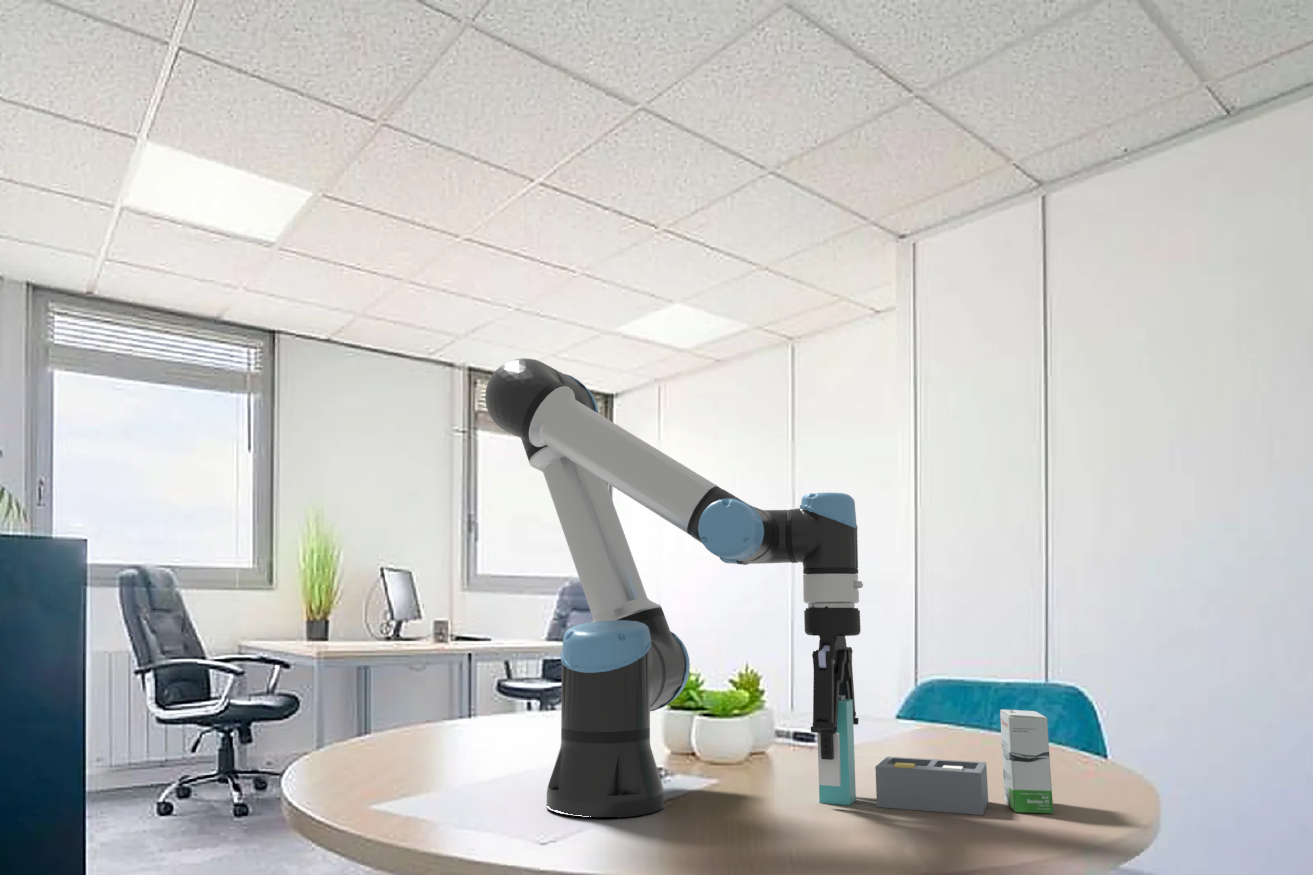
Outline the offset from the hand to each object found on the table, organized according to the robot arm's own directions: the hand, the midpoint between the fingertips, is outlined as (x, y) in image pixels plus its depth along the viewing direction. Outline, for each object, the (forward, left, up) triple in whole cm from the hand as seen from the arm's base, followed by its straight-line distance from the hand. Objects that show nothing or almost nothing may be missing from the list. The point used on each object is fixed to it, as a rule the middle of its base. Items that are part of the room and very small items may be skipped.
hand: (837, 779), depth 131 cm
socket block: (+12, +2, -3) cm, 13 cm away
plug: (0, 0, -3) cm, 3 cm away
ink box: (+24, +6, -3) cm, 24 cm away
